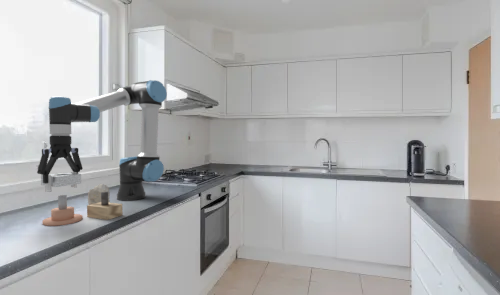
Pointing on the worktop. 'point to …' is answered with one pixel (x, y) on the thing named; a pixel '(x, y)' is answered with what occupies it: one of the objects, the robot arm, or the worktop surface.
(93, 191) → the stone
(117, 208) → the stand
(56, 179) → the grey square stone block
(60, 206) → the hub
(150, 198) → the worktop surface
